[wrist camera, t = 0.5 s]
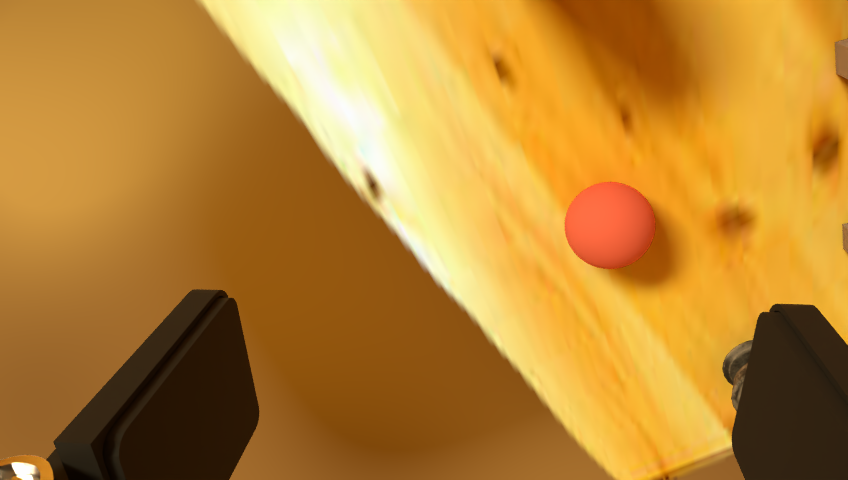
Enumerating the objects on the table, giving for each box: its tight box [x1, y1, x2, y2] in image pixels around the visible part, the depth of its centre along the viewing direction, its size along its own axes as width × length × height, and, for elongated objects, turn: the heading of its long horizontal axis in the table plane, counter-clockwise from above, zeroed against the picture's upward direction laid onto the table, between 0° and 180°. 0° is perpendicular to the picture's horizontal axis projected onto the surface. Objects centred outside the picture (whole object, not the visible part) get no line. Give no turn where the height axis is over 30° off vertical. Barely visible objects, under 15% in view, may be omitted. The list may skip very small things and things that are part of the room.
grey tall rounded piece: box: [723, 340, 753, 411], centre depth 44 cm, size 6×6×12 cm
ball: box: [565, 182, 655, 269], centre depth 42 cm, size 6×6×6 cm
